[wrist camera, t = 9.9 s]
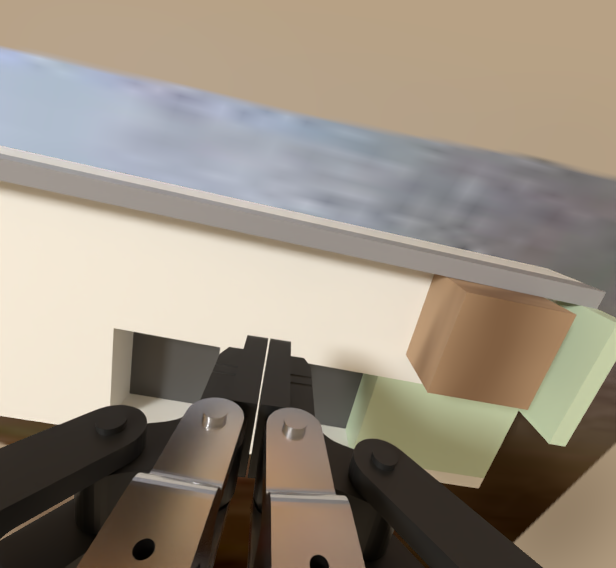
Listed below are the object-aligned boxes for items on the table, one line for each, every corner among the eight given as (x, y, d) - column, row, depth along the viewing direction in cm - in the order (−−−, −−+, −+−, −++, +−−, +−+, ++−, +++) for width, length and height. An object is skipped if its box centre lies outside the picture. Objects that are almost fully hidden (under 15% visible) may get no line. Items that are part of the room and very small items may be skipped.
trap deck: (546, 268, 18) (646, 308, 13) (459, 454, 22) (508, 542, 17) (-11, 142, 15) (-168, 130, 10) (6, 381, 19) (-100, 459, 14)
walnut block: (526, 288, 16) (576, 314, 13) (489, 369, 17) (527, 410, 14) (435, 269, 15) (467, 292, 13) (405, 354, 17) (427, 392, 14)
